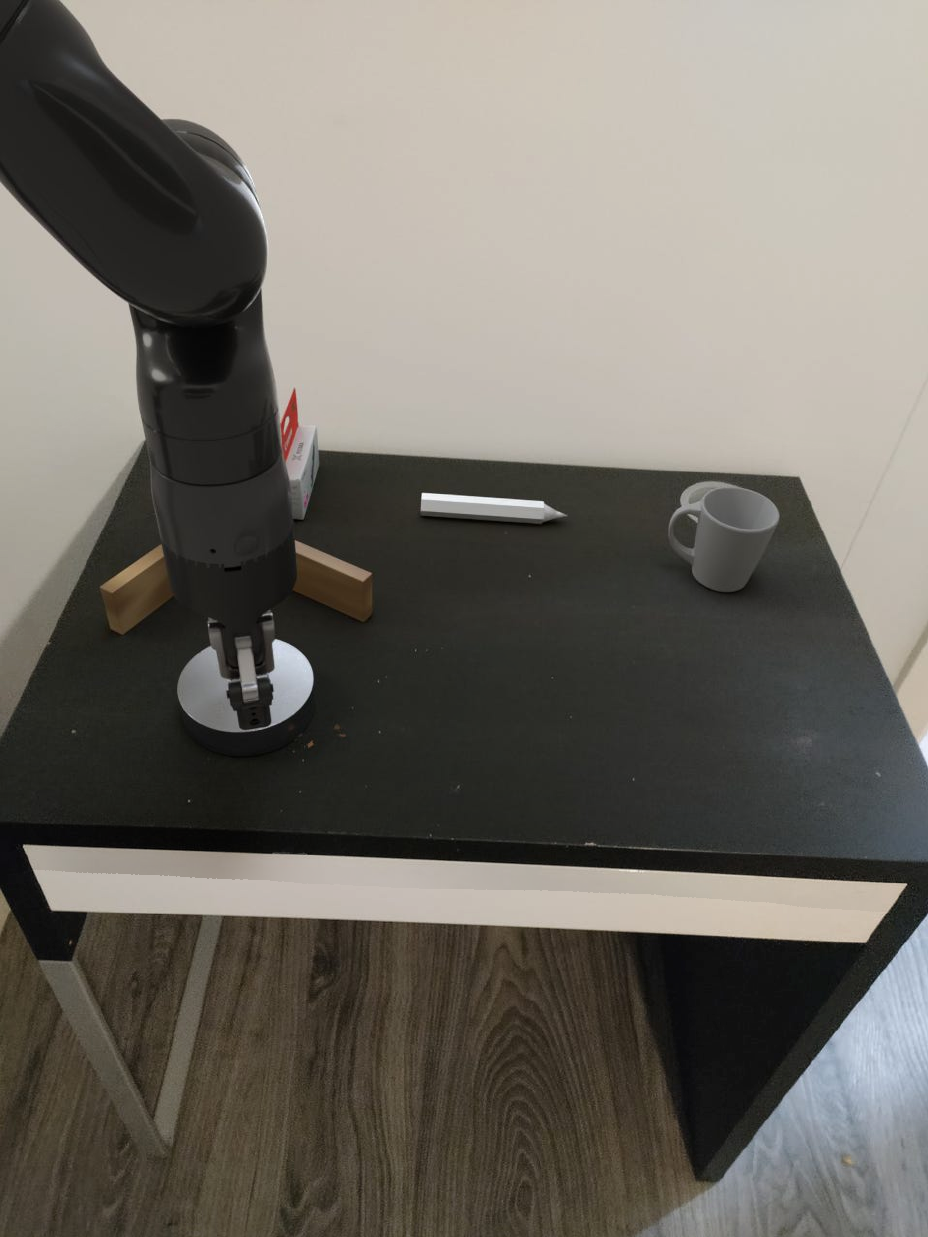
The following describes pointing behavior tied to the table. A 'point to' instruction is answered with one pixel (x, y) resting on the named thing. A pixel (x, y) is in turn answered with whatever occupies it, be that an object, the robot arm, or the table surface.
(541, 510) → the white pencil
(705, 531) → the cup
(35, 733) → the table surface
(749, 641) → the table surface
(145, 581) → the corner fence
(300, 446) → the ink box
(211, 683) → the white-topped round disc
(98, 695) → the table surface
